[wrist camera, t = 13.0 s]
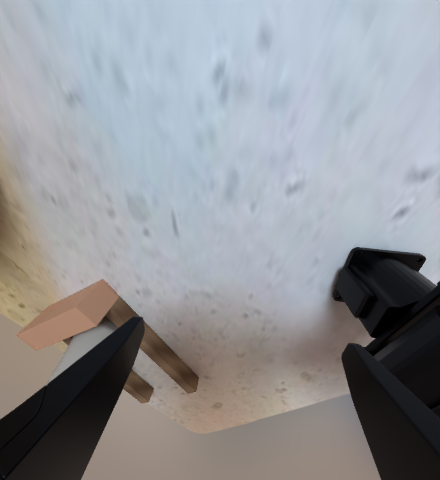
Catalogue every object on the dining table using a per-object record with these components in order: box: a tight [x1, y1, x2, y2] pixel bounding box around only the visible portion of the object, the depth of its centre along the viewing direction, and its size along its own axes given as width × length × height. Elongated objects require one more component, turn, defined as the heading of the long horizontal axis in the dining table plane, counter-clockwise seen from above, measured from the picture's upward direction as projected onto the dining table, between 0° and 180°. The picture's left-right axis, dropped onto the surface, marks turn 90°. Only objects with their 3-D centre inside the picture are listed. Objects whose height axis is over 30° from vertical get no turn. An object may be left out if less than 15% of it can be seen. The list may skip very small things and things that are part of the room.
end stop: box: [16, 279, 119, 350], centre depth 24 cm, size 3×11×4 cm, turn 120°
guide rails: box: [63, 296, 199, 403], centre depth 29 cm, size 19×11×2 cm, turn 30°
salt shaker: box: [45, 316, 118, 386], centre depth 22 cm, size 6×6×13 cm
